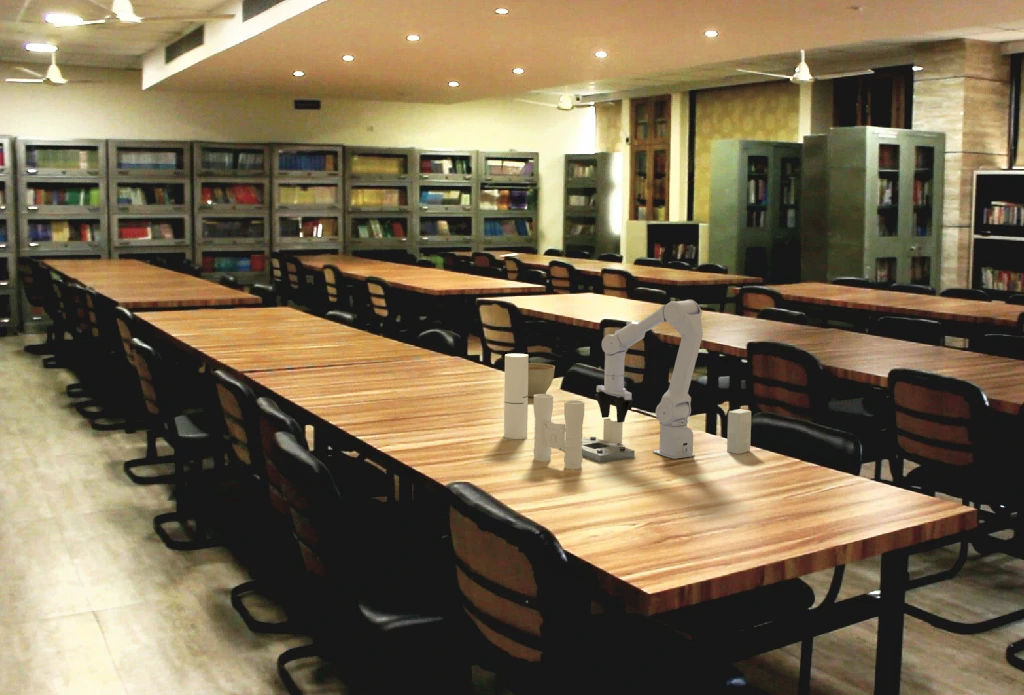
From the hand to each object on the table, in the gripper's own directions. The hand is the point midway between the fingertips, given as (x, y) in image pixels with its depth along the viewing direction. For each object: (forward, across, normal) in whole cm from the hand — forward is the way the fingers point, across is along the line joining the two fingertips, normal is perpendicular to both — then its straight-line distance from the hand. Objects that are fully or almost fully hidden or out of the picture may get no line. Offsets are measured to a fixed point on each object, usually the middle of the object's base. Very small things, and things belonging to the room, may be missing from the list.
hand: (612, 419), depth 317 cm
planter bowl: (+8, +76, -21) cm, 79 cm away
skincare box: (+7, -27, -25) cm, 38 cm away
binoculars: (+7, -13, +29) cm, 32 cm away
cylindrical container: (+7, +21, +21) cm, 30 cm away
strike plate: (+7, -8, +12) cm, 16 cm away
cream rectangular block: (+7, 0, 0) cm, 7 cm away
